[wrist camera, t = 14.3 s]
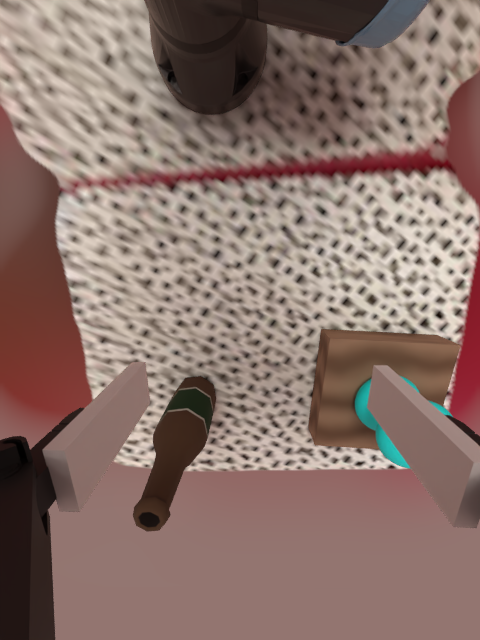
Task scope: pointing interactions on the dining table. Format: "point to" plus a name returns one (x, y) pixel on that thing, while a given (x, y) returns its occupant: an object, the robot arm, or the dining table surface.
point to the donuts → (381, 436)
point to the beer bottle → (175, 448)
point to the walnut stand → (356, 368)
